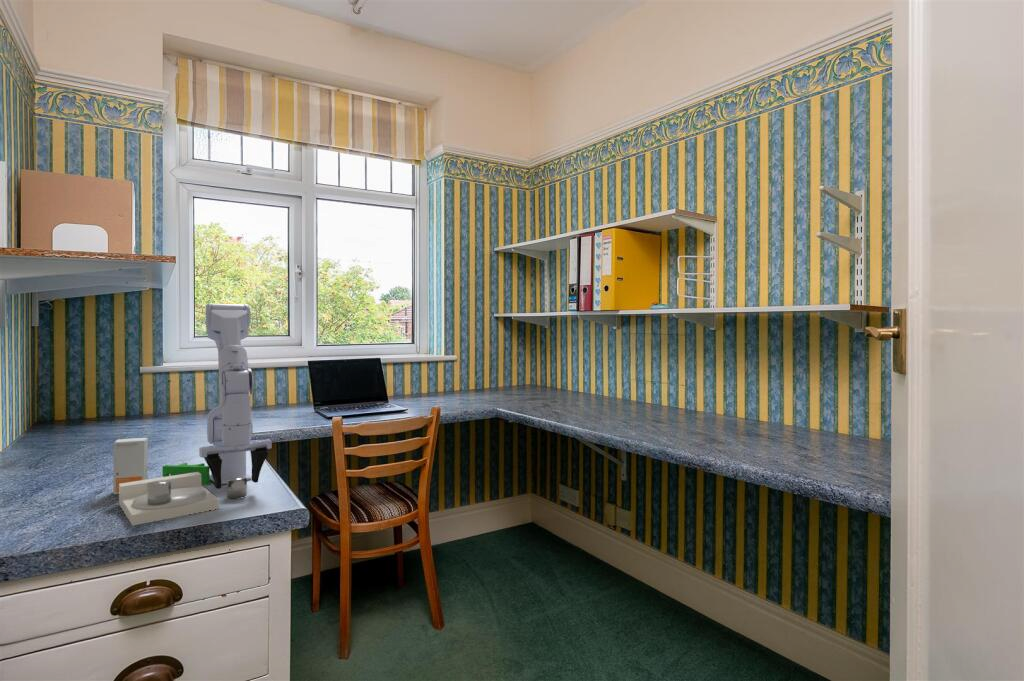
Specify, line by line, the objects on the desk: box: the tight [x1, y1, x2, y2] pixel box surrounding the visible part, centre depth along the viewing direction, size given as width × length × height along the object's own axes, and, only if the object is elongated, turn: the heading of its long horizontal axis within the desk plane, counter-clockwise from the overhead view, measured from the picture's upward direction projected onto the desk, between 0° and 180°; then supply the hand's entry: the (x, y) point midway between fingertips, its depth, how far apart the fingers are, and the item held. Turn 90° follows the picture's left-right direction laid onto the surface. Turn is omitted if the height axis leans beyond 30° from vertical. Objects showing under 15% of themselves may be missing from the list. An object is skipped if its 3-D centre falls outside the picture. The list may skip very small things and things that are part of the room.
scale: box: [118, 472, 220, 527], centre depth 117 cm, size 17×15×4 cm
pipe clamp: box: [161, 462, 211, 486], centre depth 136 cm, size 11×4×5 cm, turn 86°
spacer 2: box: [226, 476, 248, 500], centre depth 125 cm, size 4×4×4 cm
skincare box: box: [112, 437, 149, 496], centre depth 128 cm, size 6×4×12 cm
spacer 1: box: [147, 480, 171, 506], centre depth 112 cm, size 4×4×4 cm
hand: (236, 484), depth 125 cm, fingers open, 7 cm apart
